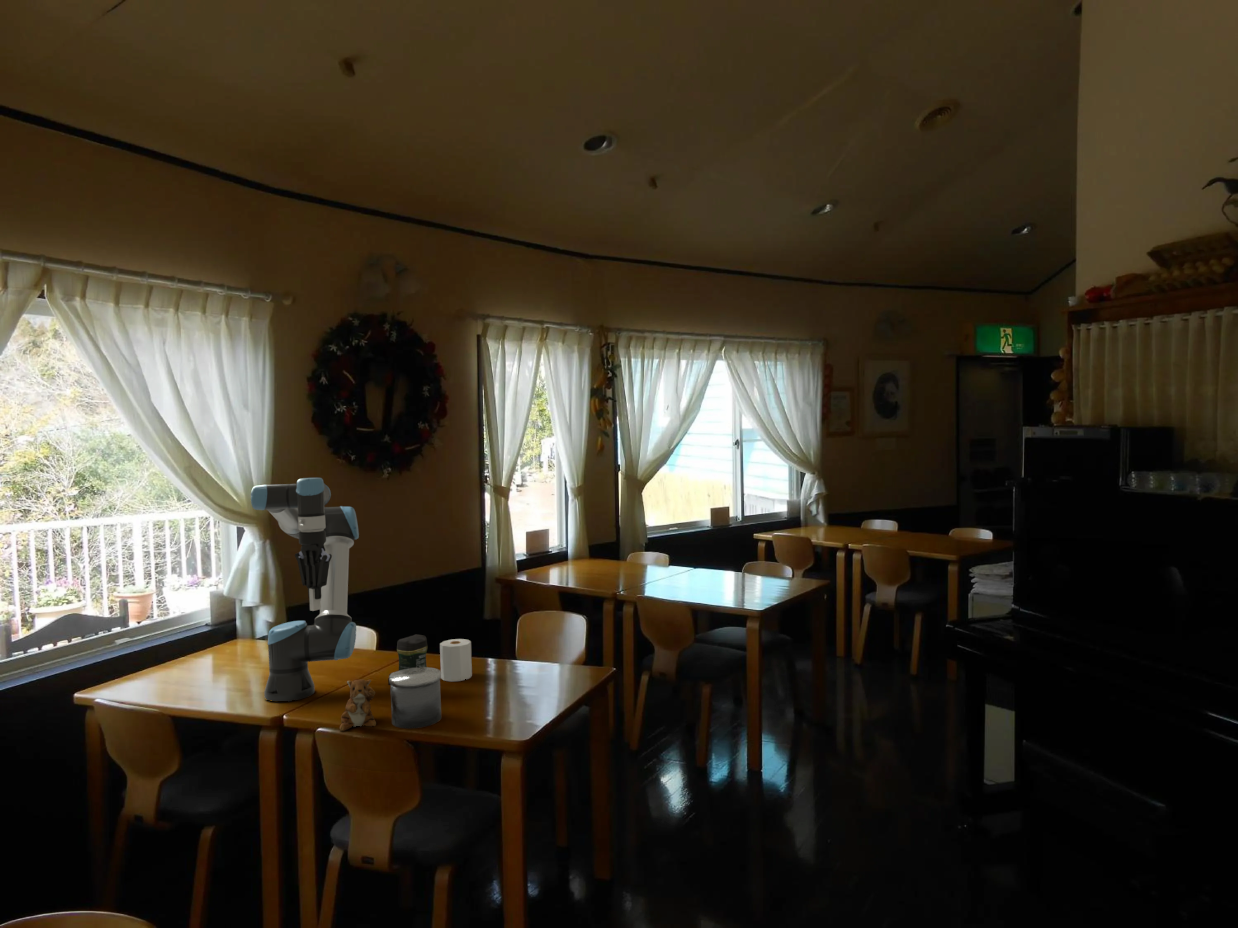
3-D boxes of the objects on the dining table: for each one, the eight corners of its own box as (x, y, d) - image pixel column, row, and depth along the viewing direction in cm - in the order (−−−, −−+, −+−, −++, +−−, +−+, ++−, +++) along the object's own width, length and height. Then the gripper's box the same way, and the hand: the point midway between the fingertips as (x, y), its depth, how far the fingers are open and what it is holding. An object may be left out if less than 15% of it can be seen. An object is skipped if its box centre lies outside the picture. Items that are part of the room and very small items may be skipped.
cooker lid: (376, 682, 235) (376, 678, 235) (411, 669, 248) (411, 664, 247) (417, 689, 228) (417, 684, 227) (451, 674, 240) (451, 670, 240)
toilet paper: (435, 677, 280) (434, 642, 279) (462, 670, 286) (461, 636, 286) (450, 683, 272) (449, 647, 272) (477, 676, 279) (476, 642, 278)
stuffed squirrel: (339, 732, 229) (337, 686, 228) (342, 716, 243) (341, 672, 242) (376, 728, 232) (374, 683, 231) (377, 712, 245) (375, 669, 245)
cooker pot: (377, 723, 235) (376, 682, 235) (411, 708, 248) (409, 669, 247) (419, 731, 228) (417, 689, 228) (451, 715, 241) (449, 675, 240)
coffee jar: (412, 699, 257) (410, 640, 256) (393, 695, 261) (391, 638, 260) (433, 690, 265) (431, 633, 264) (415, 687, 269) (413, 631, 268)
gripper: (286, 531, 239) (289, 610, 240) (317, 532, 233) (321, 614, 234) (306, 528, 246) (309, 605, 247) (338, 529, 240) (341, 608, 241)
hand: (315, 609), depth 240 cm, fingers closed
